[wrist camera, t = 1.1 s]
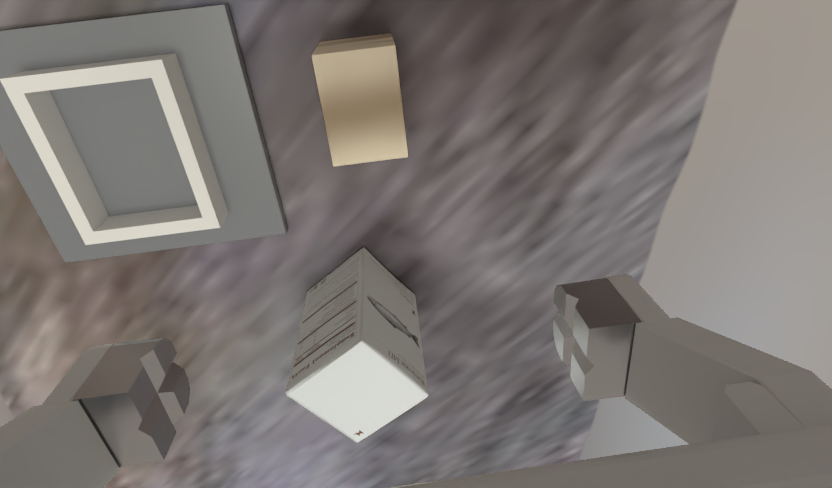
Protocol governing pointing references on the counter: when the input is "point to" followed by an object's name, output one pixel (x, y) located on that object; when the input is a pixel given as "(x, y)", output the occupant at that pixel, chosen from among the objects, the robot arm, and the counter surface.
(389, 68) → the tan cardboard carton
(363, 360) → the supplement box
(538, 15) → the counter surface
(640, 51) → the counter surface
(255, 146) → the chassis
